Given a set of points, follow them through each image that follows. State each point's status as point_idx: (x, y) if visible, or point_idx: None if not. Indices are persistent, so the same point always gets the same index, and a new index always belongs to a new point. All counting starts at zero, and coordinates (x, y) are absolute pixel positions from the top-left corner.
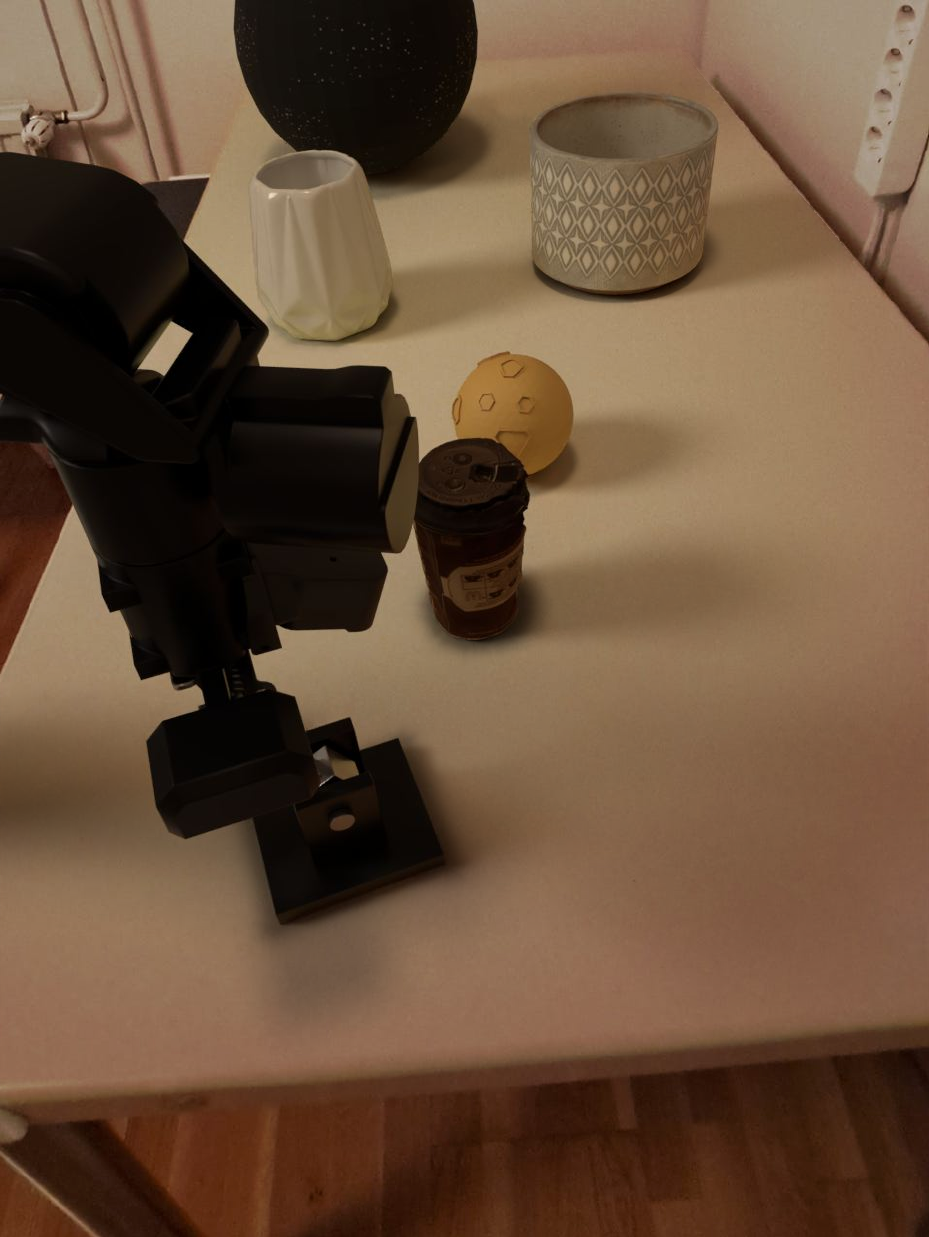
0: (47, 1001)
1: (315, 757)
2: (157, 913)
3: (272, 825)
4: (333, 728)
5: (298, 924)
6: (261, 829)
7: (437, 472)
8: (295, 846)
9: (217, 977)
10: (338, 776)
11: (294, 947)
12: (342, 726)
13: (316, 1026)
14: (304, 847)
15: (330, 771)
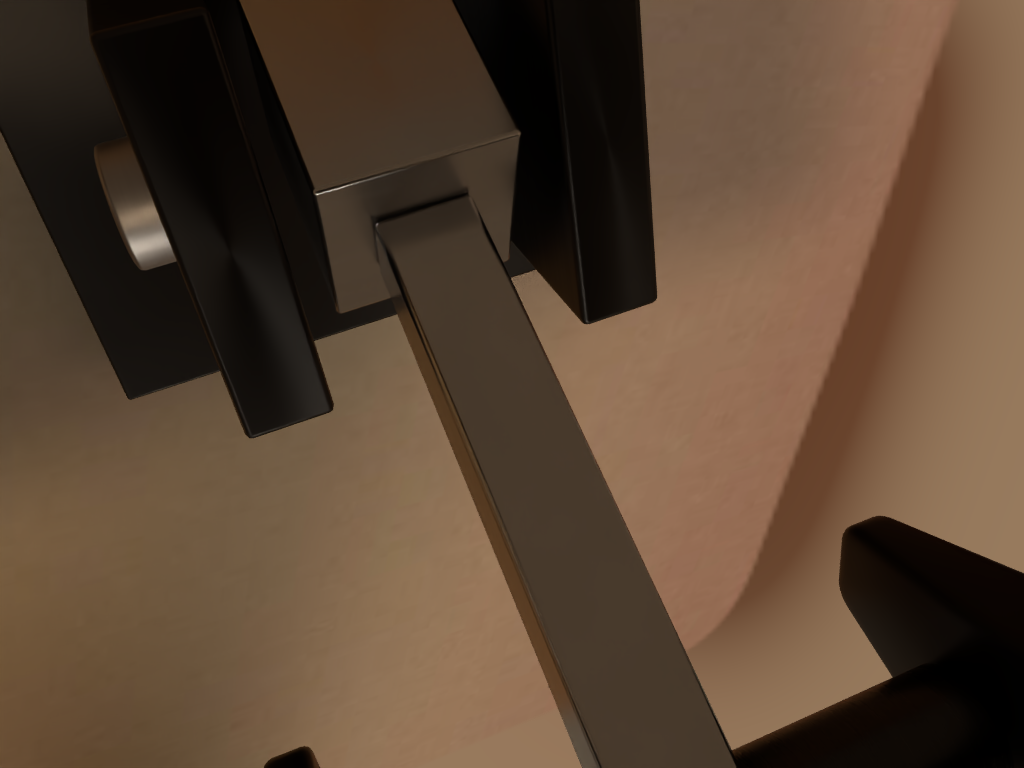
0: None
1: (351, 230)
2: (474, 514)
3: (300, 292)
4: (189, 146)
5: None
6: (310, 324)
7: None
8: None
9: (664, 353)
10: (503, 107)
11: (651, 177)
12: (182, 89)
13: (850, 111)
14: None
15: (484, 154)
